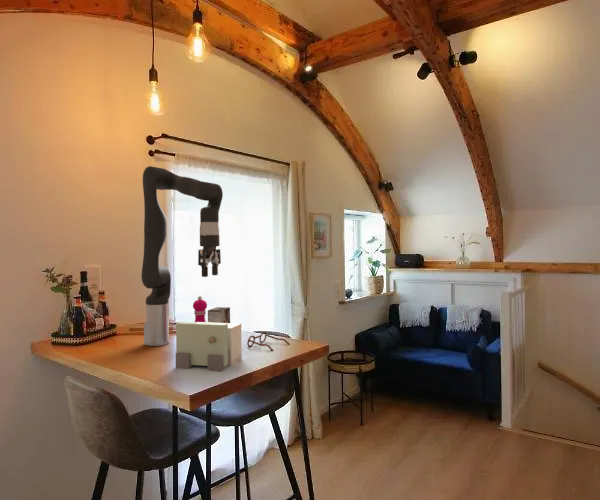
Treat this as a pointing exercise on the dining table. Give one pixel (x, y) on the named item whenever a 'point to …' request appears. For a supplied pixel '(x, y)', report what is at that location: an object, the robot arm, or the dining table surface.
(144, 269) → the robot arm
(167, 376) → the dining table surface
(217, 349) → the door
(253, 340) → the glasses
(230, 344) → the cabinet
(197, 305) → the pepper mill
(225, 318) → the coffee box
